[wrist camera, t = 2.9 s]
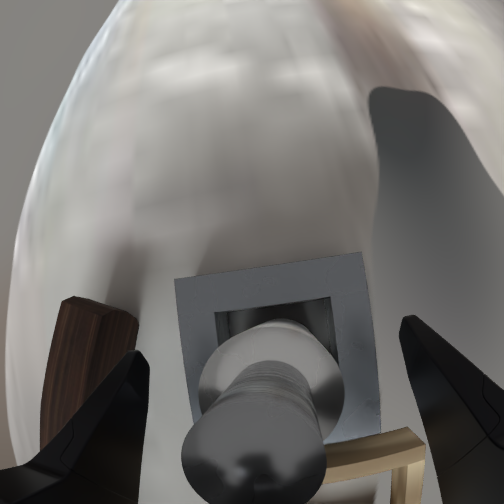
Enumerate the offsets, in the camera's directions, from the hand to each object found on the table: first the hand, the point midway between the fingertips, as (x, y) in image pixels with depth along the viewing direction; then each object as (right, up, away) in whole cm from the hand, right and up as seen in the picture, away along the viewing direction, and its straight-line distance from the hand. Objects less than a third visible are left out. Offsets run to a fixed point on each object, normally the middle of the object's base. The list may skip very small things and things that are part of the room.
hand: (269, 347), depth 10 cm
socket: (+1, -3, +7) cm, 7 cm away
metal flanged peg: (+1, -3, +7) cm, 7 cm away
